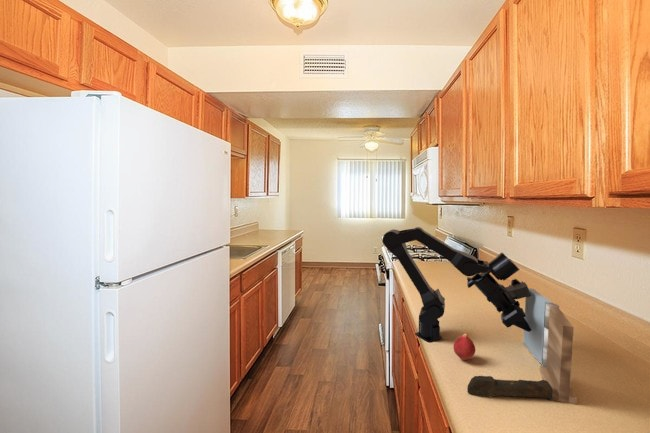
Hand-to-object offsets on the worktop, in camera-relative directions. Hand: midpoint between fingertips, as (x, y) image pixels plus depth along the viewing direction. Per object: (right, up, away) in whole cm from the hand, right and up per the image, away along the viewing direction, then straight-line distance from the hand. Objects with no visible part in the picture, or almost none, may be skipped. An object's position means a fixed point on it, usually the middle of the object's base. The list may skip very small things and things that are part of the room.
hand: (529, 329), depth 101 cm
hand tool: (-18, -10, -21) cm, 29 cm away
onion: (-22, -8, -4) cm, 23 cm away
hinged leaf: (+1, -7, -3) cm, 8 cm away
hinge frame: (-3, -9, -16) cm, 18 cm away
